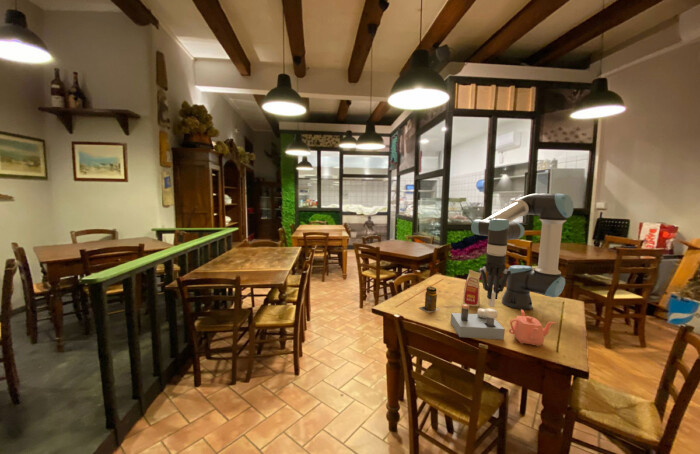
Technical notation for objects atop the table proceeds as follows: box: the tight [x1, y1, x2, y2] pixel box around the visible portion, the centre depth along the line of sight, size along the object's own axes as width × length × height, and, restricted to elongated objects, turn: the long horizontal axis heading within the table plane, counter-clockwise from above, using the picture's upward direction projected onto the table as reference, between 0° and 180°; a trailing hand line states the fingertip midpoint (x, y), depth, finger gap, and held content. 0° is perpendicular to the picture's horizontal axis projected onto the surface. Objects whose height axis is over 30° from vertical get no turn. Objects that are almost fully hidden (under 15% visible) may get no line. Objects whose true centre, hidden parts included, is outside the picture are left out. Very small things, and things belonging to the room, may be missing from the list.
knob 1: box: [476, 307, 487, 319], centre depth 130 cm, size 5×5×8 cm
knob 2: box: [484, 307, 498, 327], centre depth 122 cm, size 5×5×8 cm
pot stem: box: [460, 303, 470, 321], centre depth 127 cm, size 3×3×7 cm
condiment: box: [419, 286, 440, 314], centre depth 150 cm, size 7×8×12 cm
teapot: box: [508, 309, 557, 346], centre depth 119 cm, size 14×14×11 cm
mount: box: [450, 312, 506, 341], centre depth 127 cm, size 19×14×5 cm
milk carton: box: [462, 269, 481, 308], centre depth 159 cm, size 9×9×20 cm
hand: (491, 305), depth 121 cm, fingers closed
